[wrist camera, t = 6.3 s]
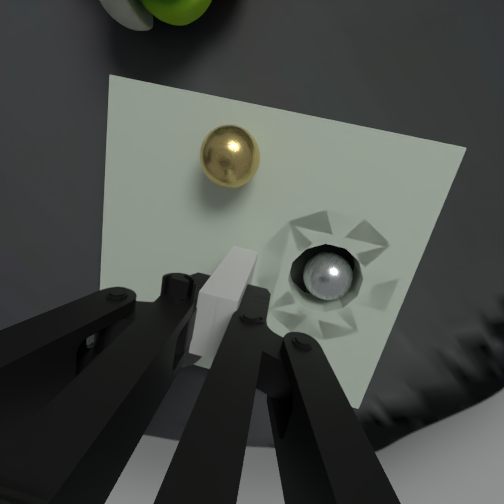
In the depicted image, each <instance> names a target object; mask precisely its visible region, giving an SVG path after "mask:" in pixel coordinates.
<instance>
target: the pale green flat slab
mask: <svg viewBox="0 0 504 504" xmlns="http://www.w3.org/2000/svg"><path fill="white" fill-rule="evenodd" d="M222 125H236V126H240V127H242V128H244V129H245V130H247V131H248V132H249V133H250V134H251V135H252V136H253V137H254V138H255V140H256V142H257V144H258V147H259V150H260V164H259V168H258V170H257V172H256V174H255V176H254V177H253V178H252V179H251V180H250V181H249V182H248V183H247V184H245V185H243V186H241V187H237V188H224V187H220V186H218V185H216V184H215V183H213V182H212V181H211V180H210V179H209V178H208V177H207V176H206V175H205V173H204V171H203V169H202V167H201V164H200V148H201V145H202V142H203V140H204V138H205V137H206V136H207V134H208V133H209V132H210V131H212V130H213V129H215V128H217V127H219V126H222ZM465 151H466V148H465V147H460V146H455V145H451V144H446V143H441V142H436V141H431V140H426V139H421V138H417V137H412V136H407V135H402V134H397V133H392V132H387V131H382V130H378V129H373V128H368V127H363V126H358V125H353V124H348V123H343V122H339V121H334V120H329V119H324V118H319V117H314V116H309V115H305V114H300V113H295V112H290V111H285V110H280V109H275V108H270V107H266V106H261V105H256V104H251V103H246V102H241V101H236V100H231V99H227V98H222V97H217V96H212V95H207V94H202V93H197V92H192V91H188V90H183V89H178V88H173V87H168V86H163V85H158V84H154V83H149V82H144V81H139V80H134V79H129V78H124V77H119V76H115V75H110V76H109V98H108V121H107V143H106V165H105V188H104V210H103V232H102V254H101V277H100V290H102V289H106V288H110V287H125V288H128V289H131V290H133V291H134V292H135V293H136V295H137V297H136V301H144V302H154V301H155V300H156V299H157V298H158V297H159V296H160V293H161V285H162V277H163V275H165V274H168V273H183V274H188V275H192V274H195V273H198V272H199V273H203V274H207V275H212V274H213V273H214V271H215V270H216V269H217V267H218V266H219V265H220V263H221V262H222V261H223V259H224V258H225V257H226V255H227V254H228V253H229V251H230V250H231V249H232V247H233V246H237V247H241V248H246V249H250V250H254V251H258V257H257V261H256V265H255V270H254V274H253V279H252V283H251V285H254V286H258V287H262V288H266V289H268V291H269V292H270V294H271V296H270V302H269V308H268V314H267V320H266V321H267V326H268V327H269V328H270V330H272V331H273V332H274V333H276V334H278V335H279V336H281V337H284V336H285V335H286V333H289V332H301V333H305V334H308V335H310V336H311V337H313V338H314V339H315V340H317V342H318V343H319V344H320V346H321V347H322V349H323V351H324V353H325V355H326V357H327V359H328V361H329V363H330V365H331V367H332V369H333V371H334V373H335V375H336V377H337V379H338V381H339V383H340V385H341V387H342V389H343V391H344V393H345V395H346V397H347V399H348V401H349V403H350V405H351V407H354V408H357V409H359V406H360V404H361V401H362V399H363V397H364V394H365V392H366V389H367V387H368V385H369V382H370V380H371V377H372V375H373V373H374V370H375V368H376V365H377V363H378V360H379V358H380V356H381V353H382V351H383V348H384V346H385V344H386V341H387V339H388V336H389V334H390V332H391V329H392V327H393V324H394V322H395V319H396V317H397V315H398V312H399V310H400V307H401V305H402V303H403V300H404V298H405V295H406V293H407V291H408V288H409V286H410V283H411V281H412V279H413V276H414V274H415V271H416V269H417V266H418V264H419V262H420V259H421V257H422V254H423V252H424V250H425V247H426V245H427V242H428V240H429V238H430V235H431V233H432V230H433V228H434V225H435V223H436V221H437V218H438V216H439V213H440V211H441V209H442V206H443V204H444V201H445V199H446V197H447V194H448V192H449V189H450V187H451V184H452V182H453V180H454V177H455V175H456V172H457V170H458V168H459V165H460V163H461V160H462V158H463V156H464V153H465ZM323 244H328V245H333V246H337V247H341V248H345V249H346V250H347V251H348V252H350V253H351V254H352V257H353V261H354V265H355V267H354V270H353V273H352V274H353V279H352V284H351V286H350V288H349V290H348V291H347V292H346V293H345V294H344V295H343V296H341V297H339V298H337V299H333V300H323V299H320V298H317V297H315V296H314V295H313V294H310V293H306V292H304V291H303V290H302V289H300V288H299V287H298V286H297V285H296V284H295V283H294V282H293V281H292V277H291V274H290V270H291V266H292V262H293V261H294V260H295V259H296V258H298V257H299V256H300V255H301V254H302V253H303V252H304V251H305V250H306V249H308V248H312V247H316V246H319V245H323ZM212 362H213V359H210V358H206V357H201V358H200V359H199V360H198V361H197V362H196V363H194V364H193V365H197V366H200V367H204V368H208V369H210V367H211V365H212Z"/></svg>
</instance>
